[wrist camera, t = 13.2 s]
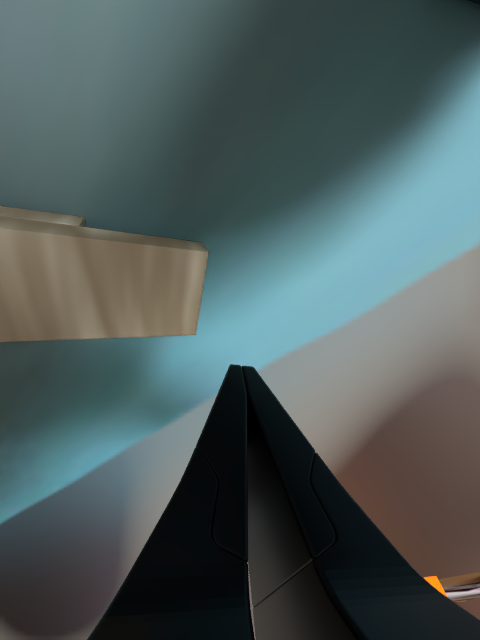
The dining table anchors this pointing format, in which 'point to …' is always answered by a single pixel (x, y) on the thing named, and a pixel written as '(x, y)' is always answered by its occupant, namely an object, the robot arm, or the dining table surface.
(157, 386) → the dining table surface
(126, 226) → the dining table surface
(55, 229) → the domino
